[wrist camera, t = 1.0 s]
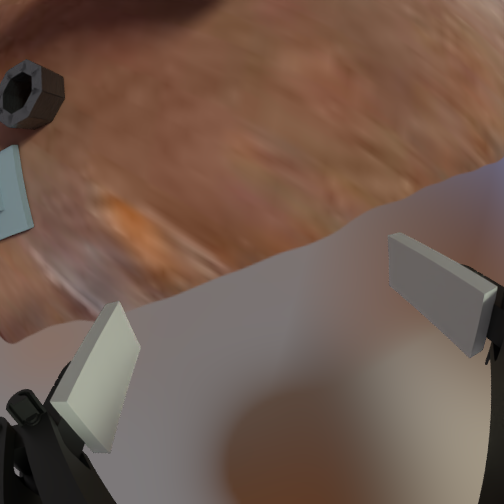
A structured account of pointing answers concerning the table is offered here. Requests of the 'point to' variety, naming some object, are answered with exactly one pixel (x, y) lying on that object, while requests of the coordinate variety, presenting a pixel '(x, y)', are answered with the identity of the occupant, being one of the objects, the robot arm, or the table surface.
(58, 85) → the hub
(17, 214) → the shaft block
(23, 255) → the table surface
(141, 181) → the table surface
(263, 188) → the table surface
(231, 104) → the table surface
